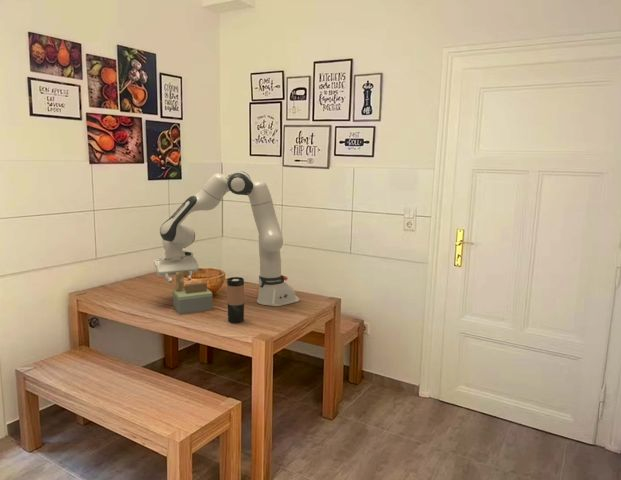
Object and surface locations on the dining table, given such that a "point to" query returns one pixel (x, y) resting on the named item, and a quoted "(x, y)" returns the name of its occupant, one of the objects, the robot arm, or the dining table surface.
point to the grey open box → (193, 304)
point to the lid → (193, 291)
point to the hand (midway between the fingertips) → (180, 280)
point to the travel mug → (235, 299)
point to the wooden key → (179, 281)
